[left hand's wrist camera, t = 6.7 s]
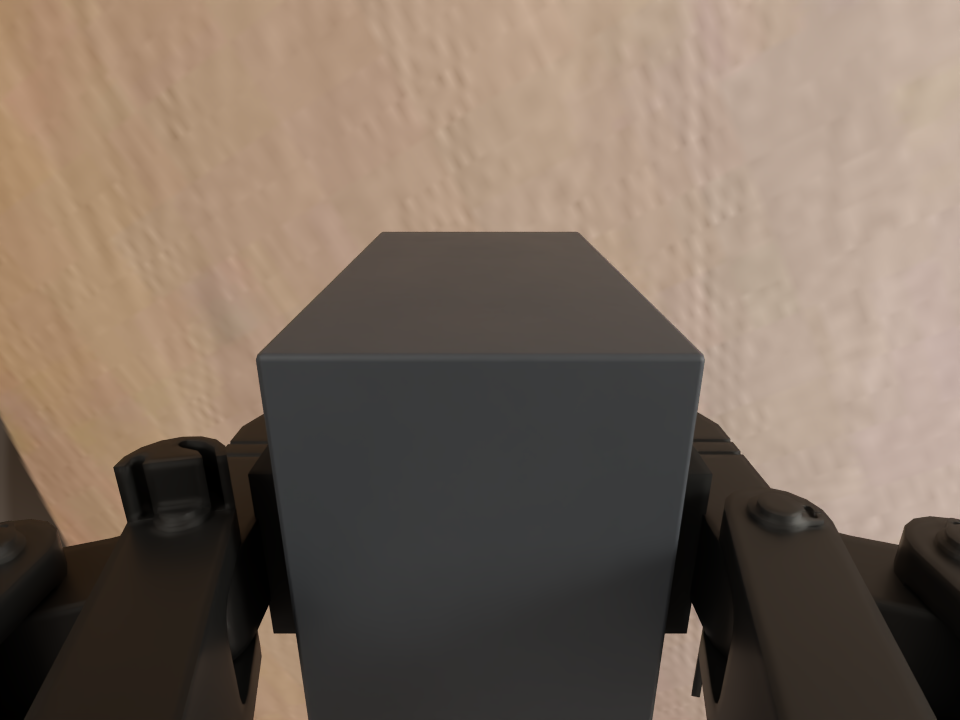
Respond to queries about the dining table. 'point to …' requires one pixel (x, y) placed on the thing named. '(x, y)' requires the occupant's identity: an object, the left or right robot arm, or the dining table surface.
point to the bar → (480, 480)
